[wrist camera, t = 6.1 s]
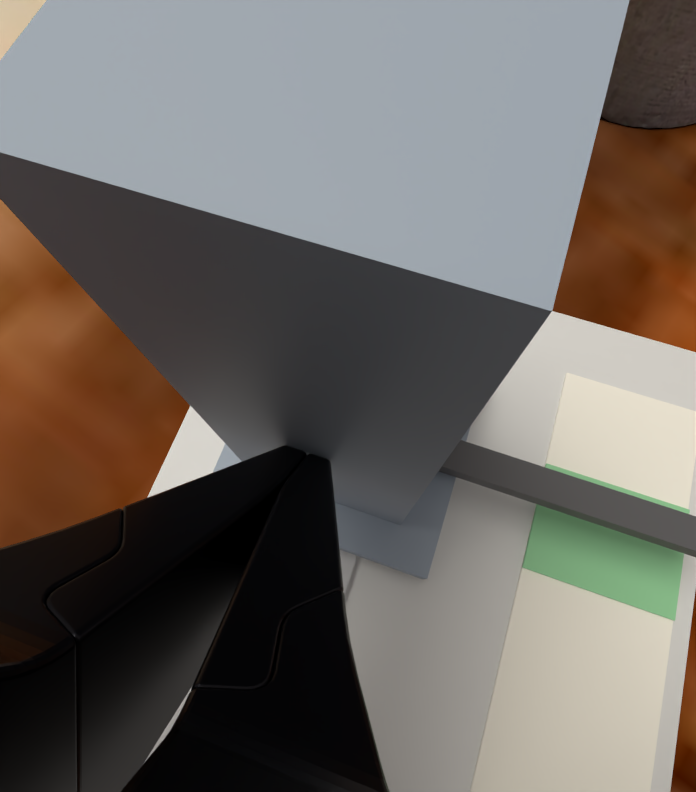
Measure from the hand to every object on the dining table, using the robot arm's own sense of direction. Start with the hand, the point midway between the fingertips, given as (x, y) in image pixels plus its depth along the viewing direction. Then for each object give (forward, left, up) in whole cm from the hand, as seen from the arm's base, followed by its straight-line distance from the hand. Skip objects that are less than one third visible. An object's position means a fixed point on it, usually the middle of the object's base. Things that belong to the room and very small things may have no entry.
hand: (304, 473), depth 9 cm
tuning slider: (+3, -2, -5) cm, 7 cm away
